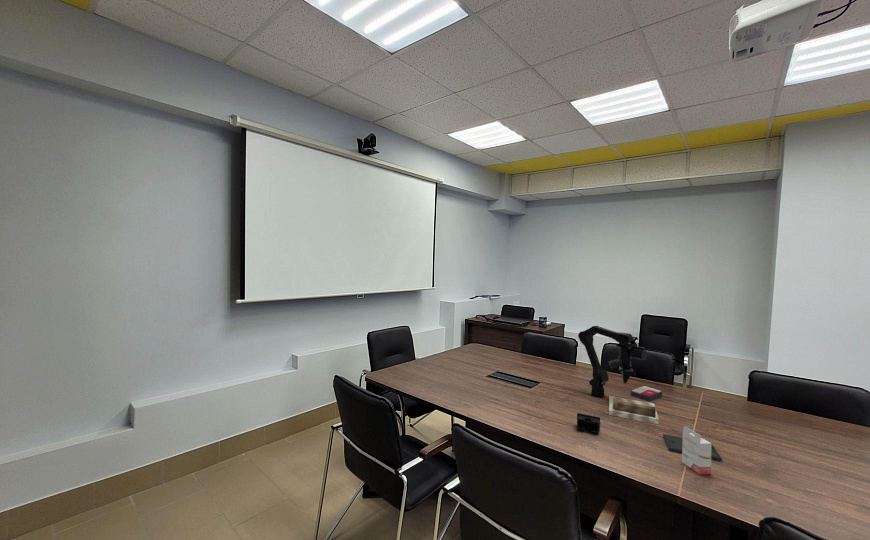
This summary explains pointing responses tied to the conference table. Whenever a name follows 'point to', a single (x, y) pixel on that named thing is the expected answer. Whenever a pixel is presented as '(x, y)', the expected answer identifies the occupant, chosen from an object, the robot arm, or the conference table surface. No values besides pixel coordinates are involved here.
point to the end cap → (588, 424)
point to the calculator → (646, 393)
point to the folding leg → (634, 408)
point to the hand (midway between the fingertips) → (624, 383)
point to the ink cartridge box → (696, 452)
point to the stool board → (630, 414)
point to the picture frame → (676, 446)
